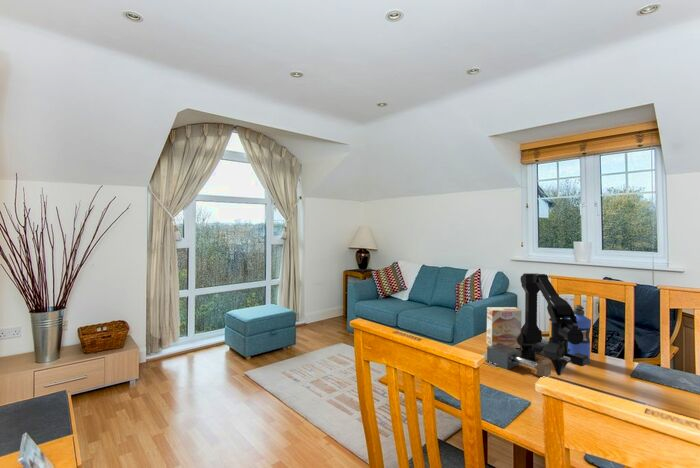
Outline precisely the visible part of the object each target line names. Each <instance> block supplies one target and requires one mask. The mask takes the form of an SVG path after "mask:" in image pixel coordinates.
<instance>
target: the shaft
mask: <svg viewBox="0 0 700 468" xmlns="http://www.w3.org/2000/svg"><path fill="white" fill-rule="evenodd" d="M511 360H512V361H515V362H517V363H520V364H519V365H524V366H527V367H529V368H532V369H535V370H536V375H537V376H538V377H541V378H543V377H542V376H546V377H548V376H551V374H552V361H549V360H545V359H542V360H539V361H537V362H536V361H533V362H532V361H529V360H526V359H523V358H520V357H517V356H514V355H511Z"/></svg>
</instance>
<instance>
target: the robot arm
mask: <svg viewBox="0 0 700 468" xmlns="http://www.w3.org/2000/svg"><path fill="white" fill-rule="evenodd" d="M520 283H521V287H522V289H523V290H524V292H525V298H524V300H525V302H524V304H525V305H524V307H525V309H524V324H523V325H522V326H521V334H520V335H519V336H518V338H517V343H518V344H519V345H520V346H521V349H520V352H521V353H520V358H523V359H526V360H529V361H532V362H536V361H538V360H539V359H540V358H539V357H537V356H536V354H540V353H542V354H543V357H545V358H548V359H549V360H550V362H551V364H553V367H554V369H555V372H556V376H561V375H562V373H563V372H564V370H565V368H566V366H567V364H568V363H570V362H571V364H572V365H576V366H579V367H584V366H586V365H588V364H590V363H589V357H588V356H587V355H583V354H580V353H576V354H574V355H573V354H569V353H568V352H570V349H568V342H570V343H572V344H575V345H576V344H579V343H581V342H582V341H583V338H584V335H583V333H582V331H580V330H579V329H578V326H577V325H574V324H577V318H576V316H575V314H574V312H573V310H574V309H573V308H572V306H571V304H569V302H568V301H567V300H566V299H564V298H562V297H561V296H560V295H559V294H558V292H557V291H556V289H555V288H554V286H553V285H552V283H551V281H550V280H549V276H548V275H547V274H545V273H537V272H536V273H528V272H527V273H523V274H522V275H521V276H520ZM539 292H541V295H542V296H543V298H544V299H545V301H546V303H547V306H546V309H547V312H548V315H549V317H550V318H549V322H551V327H550V328H551V329H550V330H551V333H550V334H551V335H550V337H548V342H547V343H544V342H542V341H543V336H542V333H543V331H542V330H541V329H540V328H539V327H538V293H539ZM567 318H570V319H567Z"/></svg>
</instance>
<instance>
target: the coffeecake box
mask: <svg viewBox="0 0 700 468" xmlns="http://www.w3.org/2000/svg"><path fill="white" fill-rule="evenodd" d="M521 328H522V309H519V308H518V307H516V306H514V307H513V306H504V307H503V306H497V307H496V306H495V307H492V306H487V307H486V345H487V347H489V346H492V345H495V344H499V343H500V344H503V345H506V346H509V347H513V348H518V347H521V346H520V345H519V344H518V343H517V338H518V336H519V335H520V334H521ZM521 348H522V347H521Z"/></svg>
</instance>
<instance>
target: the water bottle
mask: <svg viewBox="0 0 700 468" xmlns="http://www.w3.org/2000/svg"><path fill="white" fill-rule="evenodd" d="M573 308H574V309H573V312H574V314H575V316H576V318H577V324H574V325H577V326H578V329H579V330H580V331H582V333H583V335H584V338H583V341H582V342H581V343H579V344H576V345H575V344H572V343H570V342H568V349H570V352H568V353H569V354H573V355H574V354H576V353H580V354H583V355H587V356H588V357H589V362H590V363H591V339H590V338H591V337H590V332H591V328H592V319H591V318H589V317H587V316H585V310H584V307H583V306H582V305H580V304H576V305H575V306H574V307H573ZM566 319H570V318H566Z"/></svg>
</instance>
